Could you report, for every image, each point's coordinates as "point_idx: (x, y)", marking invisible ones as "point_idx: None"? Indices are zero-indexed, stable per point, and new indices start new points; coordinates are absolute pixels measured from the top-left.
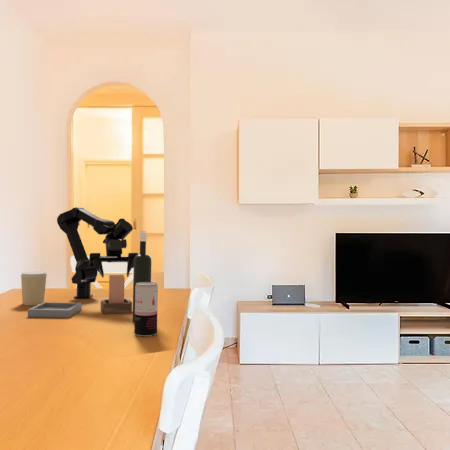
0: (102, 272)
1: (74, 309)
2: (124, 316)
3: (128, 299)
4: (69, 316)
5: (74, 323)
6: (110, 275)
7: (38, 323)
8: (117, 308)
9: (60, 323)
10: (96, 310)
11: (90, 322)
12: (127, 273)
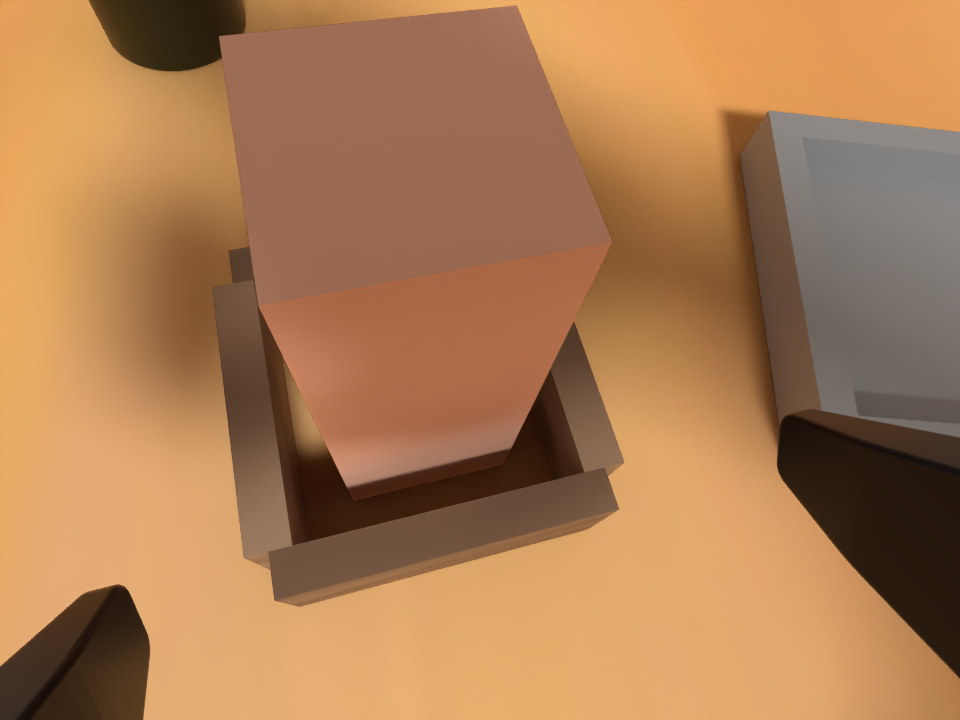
0: (890, 431)
1: (777, 237)
2: None
3: (255, 512)
4: (743, 151)
5: (634, 12)
6: (558, 154)
7: (850, 27)
8: None
9: (720, 18)
10: (621, 433)
11: (540, 26)
12: (90, 617)
